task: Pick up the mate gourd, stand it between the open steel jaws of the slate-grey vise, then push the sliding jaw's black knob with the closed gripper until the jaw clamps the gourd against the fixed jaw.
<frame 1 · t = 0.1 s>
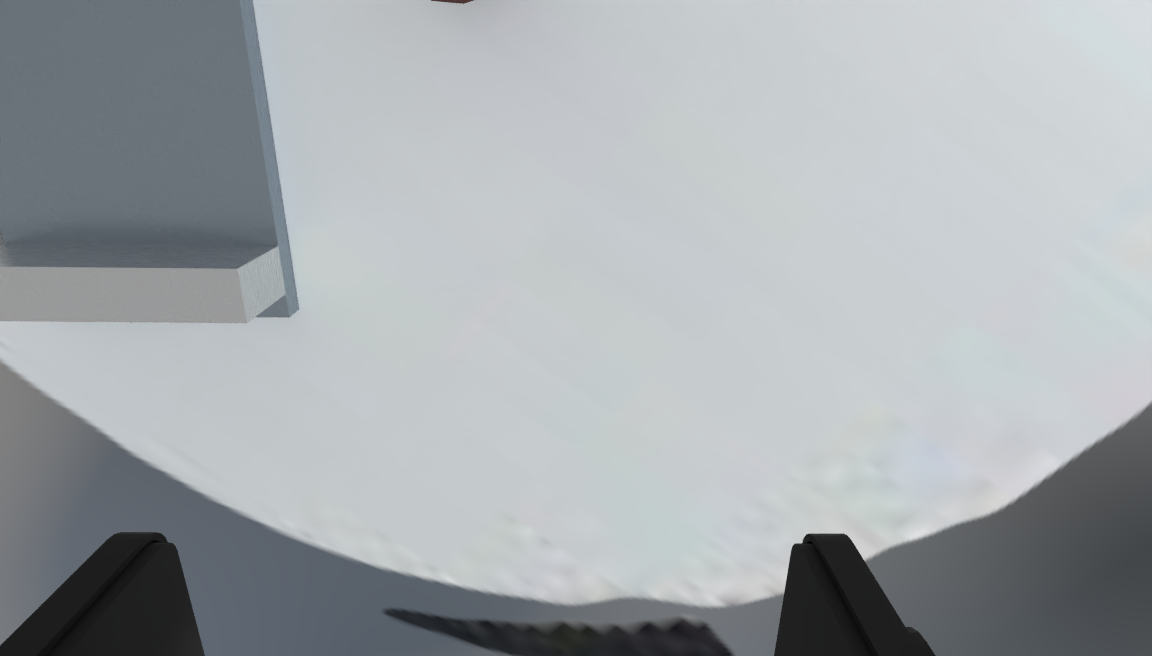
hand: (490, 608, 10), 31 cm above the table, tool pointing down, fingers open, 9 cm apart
vise: (114, 52, 35), on the table
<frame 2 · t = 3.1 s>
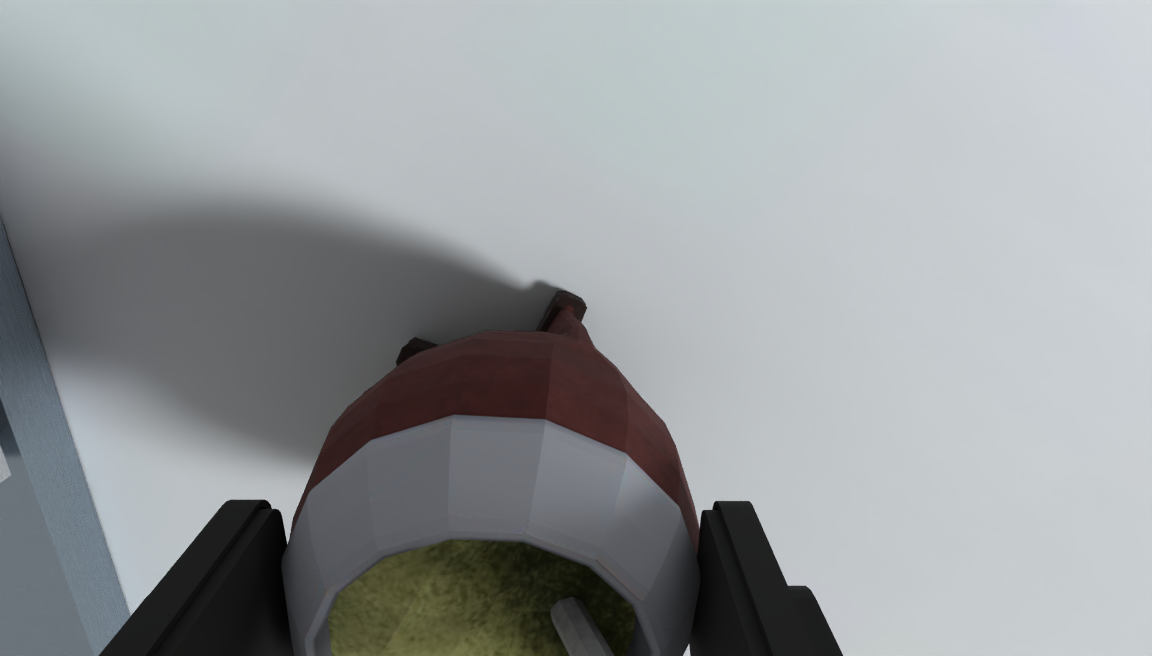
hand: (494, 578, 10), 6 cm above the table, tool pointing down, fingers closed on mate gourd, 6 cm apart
mate gourd: (535, 382, 16), on the table, touching gripper
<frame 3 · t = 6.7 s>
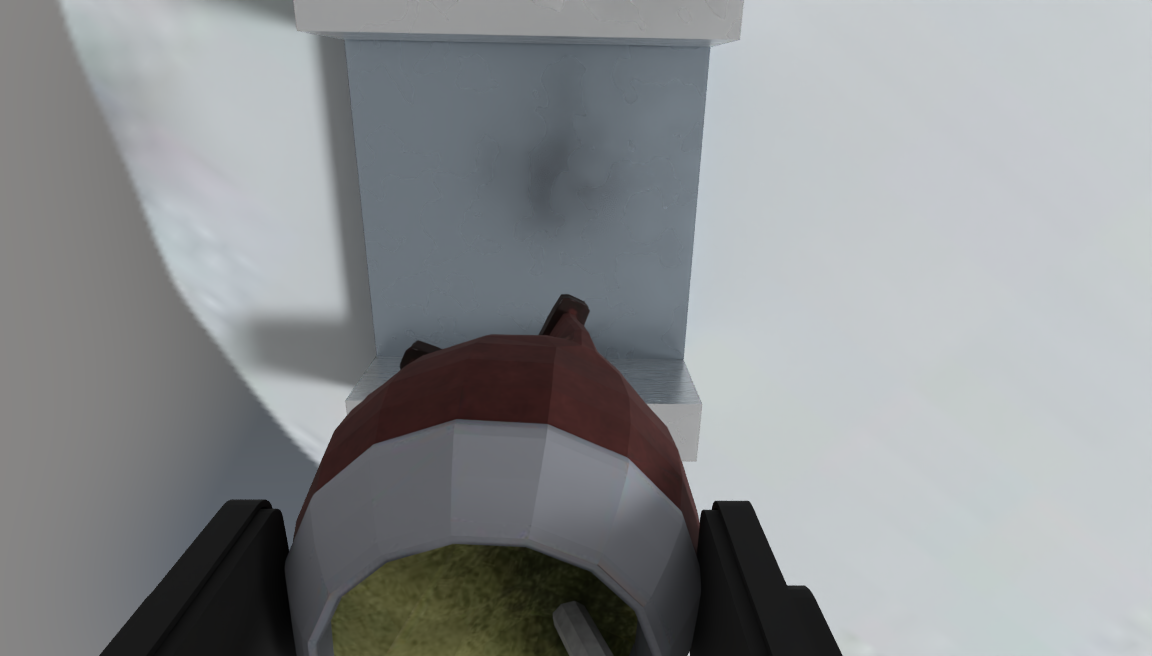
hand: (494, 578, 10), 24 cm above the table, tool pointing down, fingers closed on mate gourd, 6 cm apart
vise: (530, 146, 31), on the table
mate gourd: (538, 385, 16), point 17 cm above the table, touching gripper
when the fingers open (9 cm above the table, at t = 10.1 s): mate gourd drops 1 cm, point 1 cm above the table.
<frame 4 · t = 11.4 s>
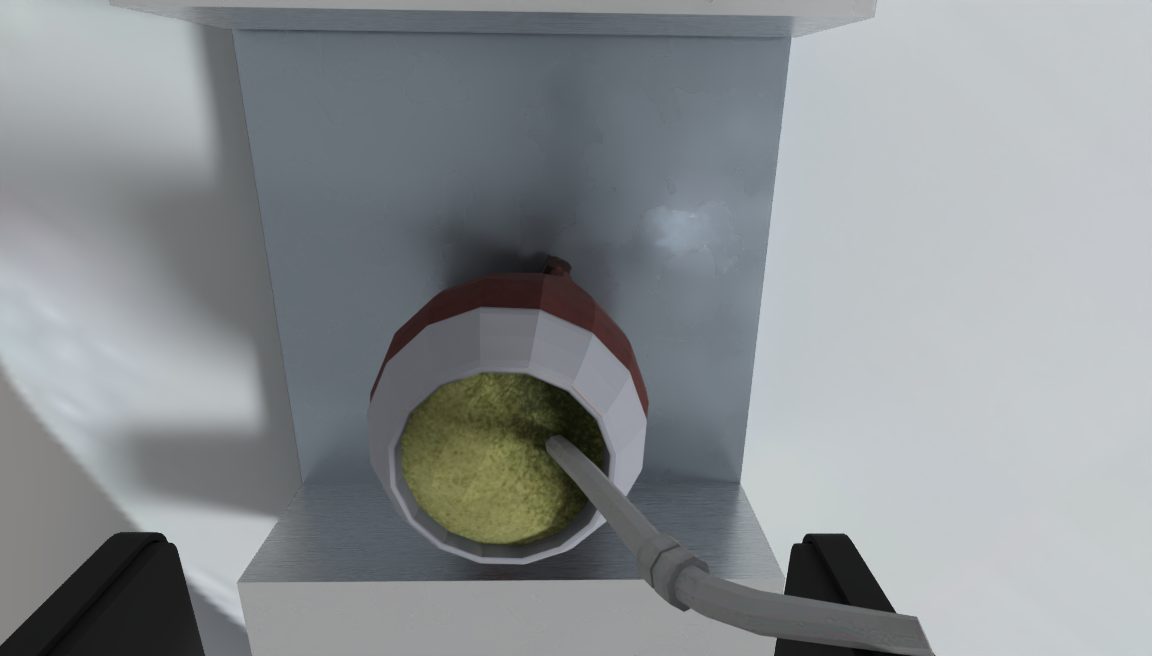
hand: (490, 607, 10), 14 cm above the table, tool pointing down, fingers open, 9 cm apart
vise: (520, 187, 21), on the table
mate gourd: (534, 330, 22), point 1 cm above the table, touching gripper
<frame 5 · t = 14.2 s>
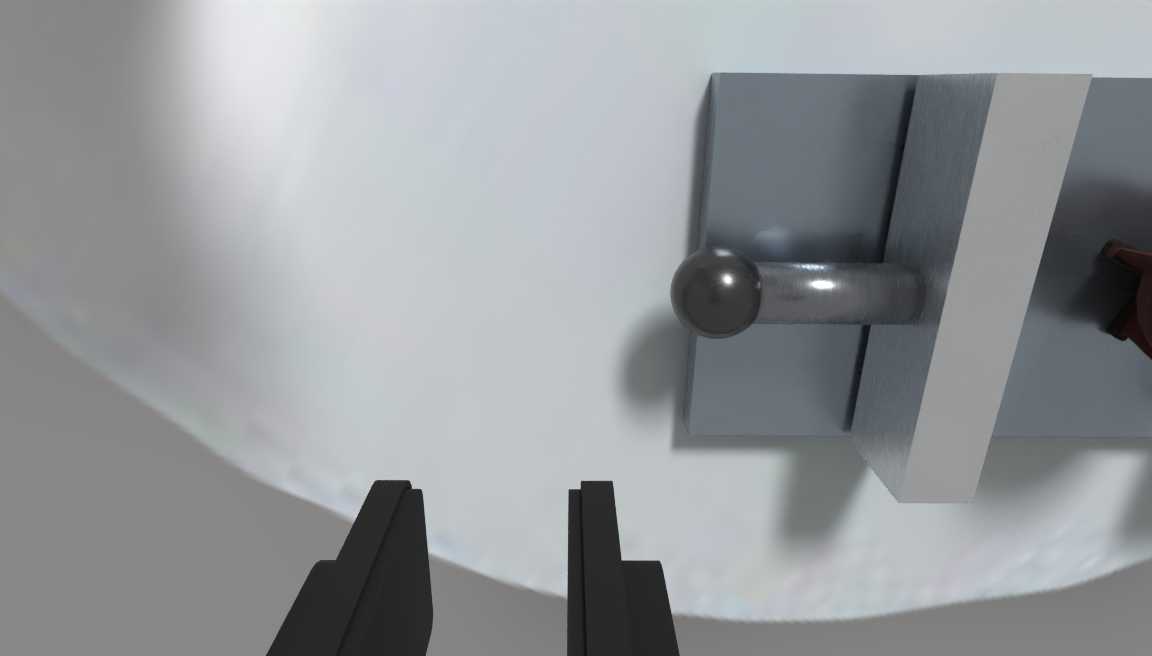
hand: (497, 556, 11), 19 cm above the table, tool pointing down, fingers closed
vise: (1024, 266, 29), on the table
mate gourd: (1151, 264, 28), point 1 cm above the table, touching vise
vise jaw: (828, 293, 25), point 4 cm above the table, slide at 0.0 cm
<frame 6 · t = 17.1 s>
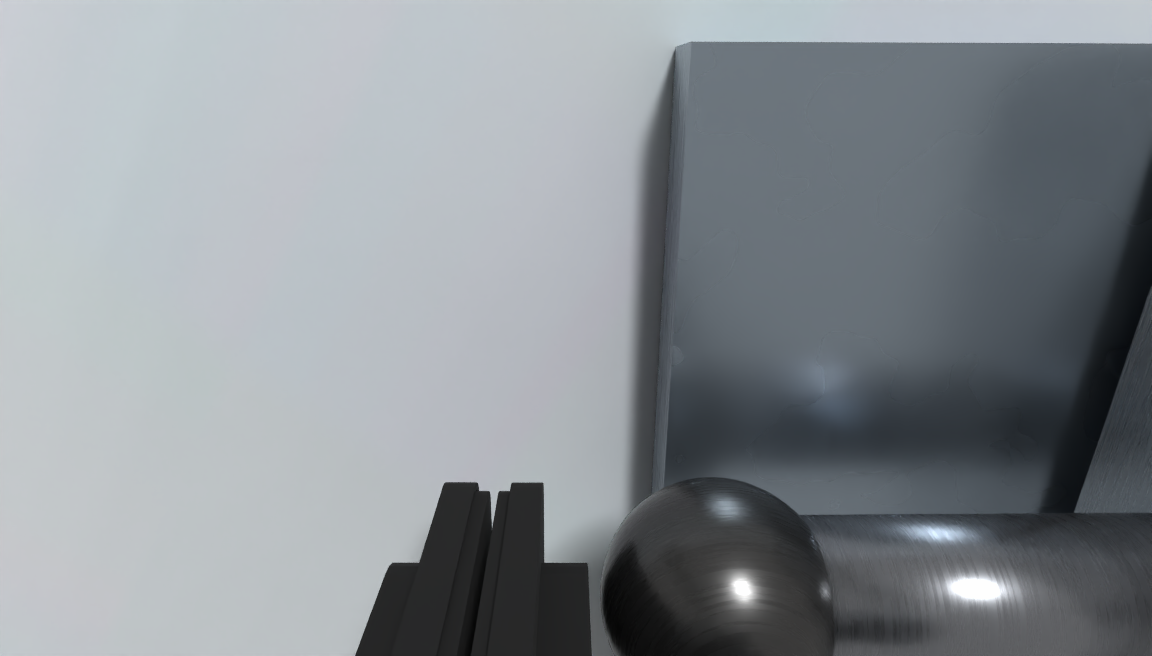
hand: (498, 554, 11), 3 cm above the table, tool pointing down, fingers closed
vise jaw: (994, 593, 10), point 4 cm above the table, slide at 0.4 cm, touching gripper
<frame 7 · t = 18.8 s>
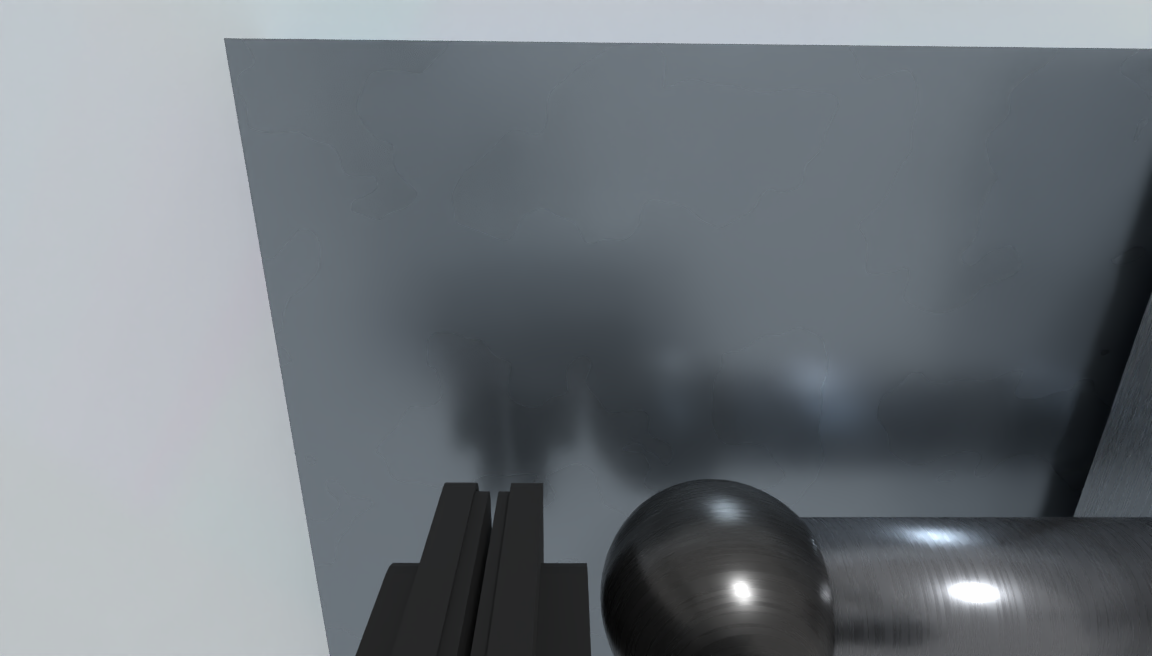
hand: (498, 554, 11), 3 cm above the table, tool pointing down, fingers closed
vise: (1015, 449, 14), on the table
vise jaw: (994, 597, 10), point 4 cm above the table, slide at 7.5 cm, touching gripper, mate gourd
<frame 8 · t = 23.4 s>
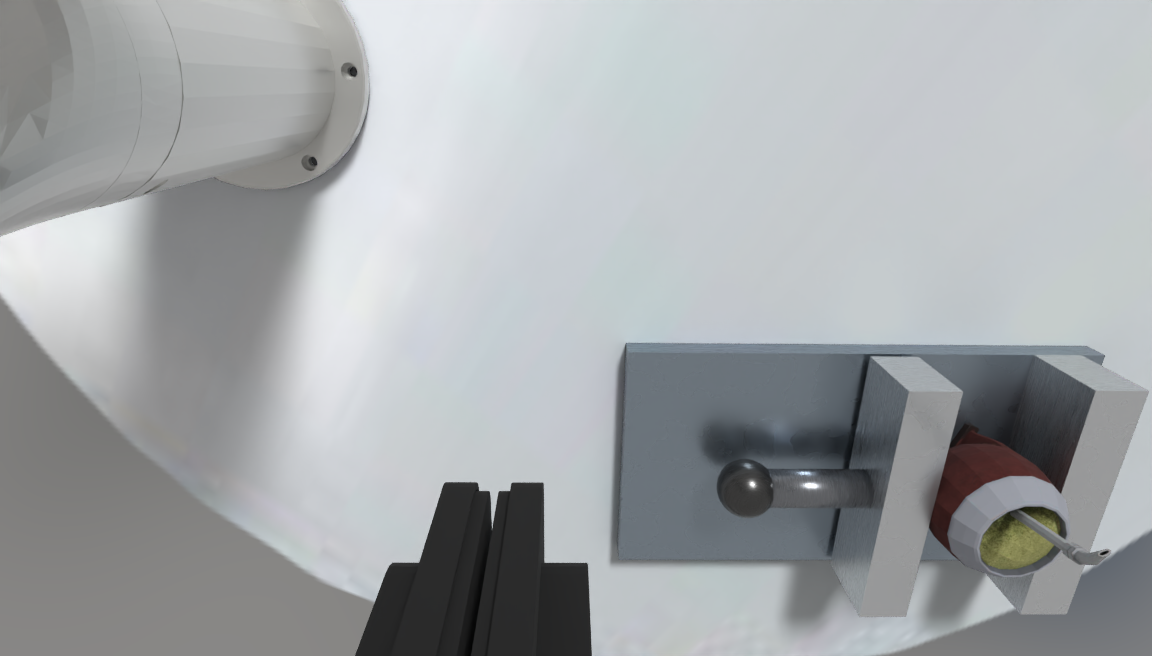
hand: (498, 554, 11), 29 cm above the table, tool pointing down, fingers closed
vise: (838, 451, 44), on the table
mate gourd: (938, 455, 43), point 1 cm above the table, touching vise
vise jaw: (814, 488, 40), point 4 cm above the table, slide at 7.5 cm
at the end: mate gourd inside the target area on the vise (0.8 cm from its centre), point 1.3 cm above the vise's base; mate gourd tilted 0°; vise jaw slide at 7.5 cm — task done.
